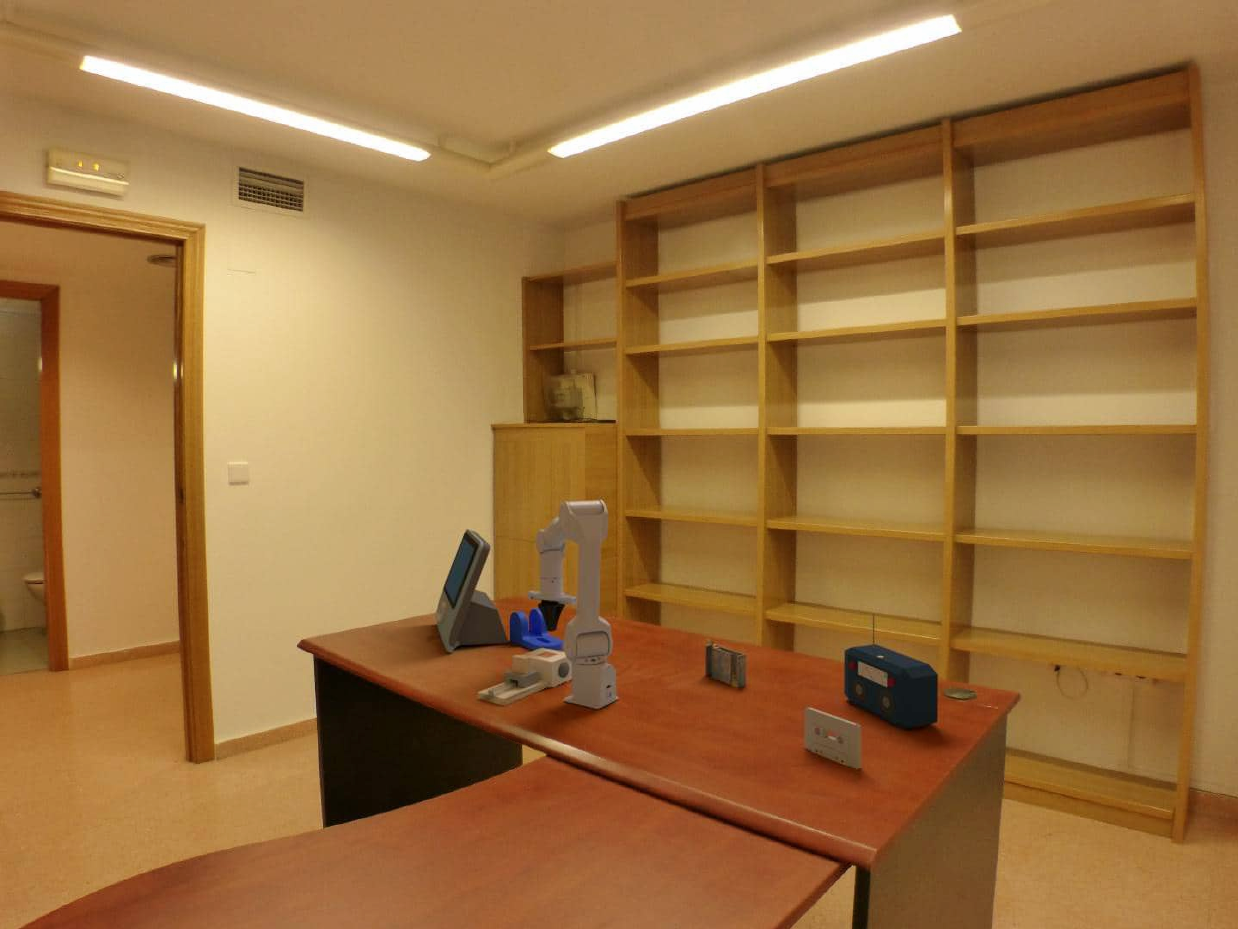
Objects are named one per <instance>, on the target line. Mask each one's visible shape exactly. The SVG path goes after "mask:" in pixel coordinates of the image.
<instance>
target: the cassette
mask: <svg viewBox="0 0 1238 929" xmlns="http://www.w3.org/2000/svg"><path fill="white" fill-rule="evenodd" d="M829 733H830V734H833V735H835V737H834V736H830V735H829ZM803 734H804V742H803V743H804V749H806V750H808V751H810V752H811V753H813V754H816V755H819V756H822V757H824V758H827V759H828V760H832V761H833V762H836V763H838V764H842V765H843V766H846V767H851V768H853V769H855V770H858V769H860V768H861V767H862V725H861V724H859V723H856V722H853V721H850V720H847V719H845V718H841V717H839V716H835V715H833V714H830V713H828V712H824V711H821V710H819V709H816V708H813V707H810V706H807V707H805V708H804V732H803Z"/></svg>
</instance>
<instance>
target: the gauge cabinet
mask: <svg viewBox="0 0 1238 929" xmlns="http://www.w3.org/2000/svg"><path fill="white" fill-rule="evenodd" d="M545 653H549V654H554V656H552V657H549V658H546V657H541V656H539V655H542V654H545ZM520 655H521V656H526V657H530V669H531V670H535V671H539V679H544V680H548V681H549V687H548V688H551V687H553V688H556V687H557V685H558V686H560V685H562V684H561V683H563V682H565V681H567V682H569V680H570V681H572V680H571V679H572V661H570V660H569V659H568V658H567V657H566V655H565V652H564V651H562V650H561V651H555V650H550V649H545V648H540V649H537V650H534V651H532V650H531V651H529V652H525V653H524V654H520ZM565 683H566V682H565ZM559 684H560V685H559ZM563 684H564V683H563Z"/></svg>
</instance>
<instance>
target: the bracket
mask: <svg viewBox="0 0 1238 929" xmlns="http://www.w3.org/2000/svg"><path fill="white" fill-rule="evenodd" d="M509 641H510V642H511V643H514V644H517V645H518V644H520V645H519V646H521V645H522V646H521V647H523V646H524V647H523V648H525V647H526V649H528V650H531V651H532V650H537V649H540V648H545V649H550V650H555V651H558V650H561V651H562V650H564V645H563V642H564V640H562V639H561V638H559V637H555V636H552V635H550V634H549V631H547V627H546V624H545V620H544V617H543V615H542V613H541V611H540V609H539V608H538V607H537V608H532V609H531V610H530V612H529V613H528V618H527V615H526V612H524V611H522V610H519V611H513V612H511V614H510V616H509Z"/></svg>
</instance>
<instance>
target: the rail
mask: <svg viewBox="0 0 1238 929" xmlns="http://www.w3.org/2000/svg"><path fill="white" fill-rule="evenodd" d="M516 687H518V681H517V680H514V681H511V682H509V683H506V684H504V685H501V686H498V687H496V688H493V689H491V690H488V695H491V696H496V695H498V694H501V693H503V692H506V691H508V690H511V689H513V688H516Z"/></svg>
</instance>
